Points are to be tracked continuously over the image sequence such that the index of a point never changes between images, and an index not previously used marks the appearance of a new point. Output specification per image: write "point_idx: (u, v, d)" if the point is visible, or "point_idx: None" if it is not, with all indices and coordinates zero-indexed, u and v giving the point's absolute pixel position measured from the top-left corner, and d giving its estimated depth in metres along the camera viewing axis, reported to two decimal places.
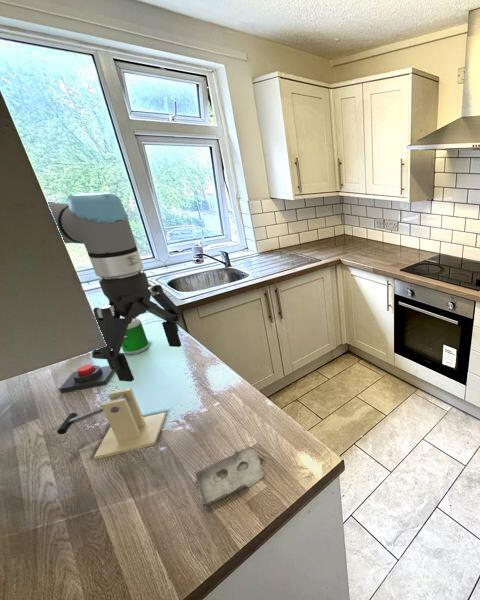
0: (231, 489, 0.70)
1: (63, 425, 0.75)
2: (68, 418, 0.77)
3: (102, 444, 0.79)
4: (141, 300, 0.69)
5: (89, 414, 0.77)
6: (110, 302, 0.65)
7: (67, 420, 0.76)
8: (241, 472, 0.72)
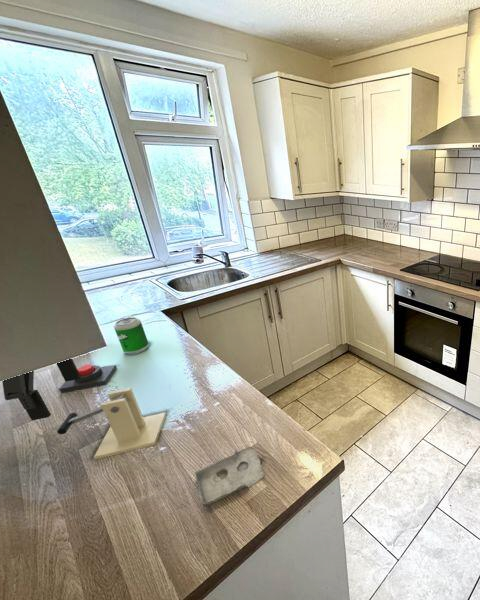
0: (231, 489, 0.70)
1: (63, 425, 0.75)
2: (68, 418, 0.77)
3: (102, 444, 0.79)
4: None
5: (89, 414, 0.77)
6: None
7: (67, 420, 0.76)
8: (241, 472, 0.72)
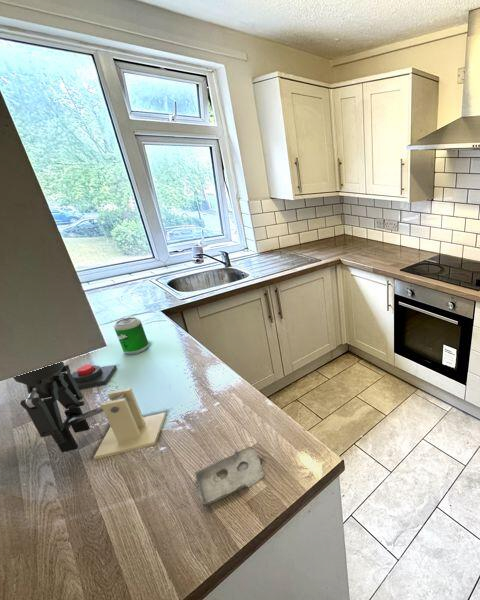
0: (231, 489, 0.70)
1: (63, 425, 0.75)
2: (68, 418, 0.77)
3: (102, 444, 0.79)
4: (56, 377, 0.73)
5: (89, 414, 0.77)
6: (29, 387, 0.67)
7: (67, 420, 0.76)
8: (241, 472, 0.72)
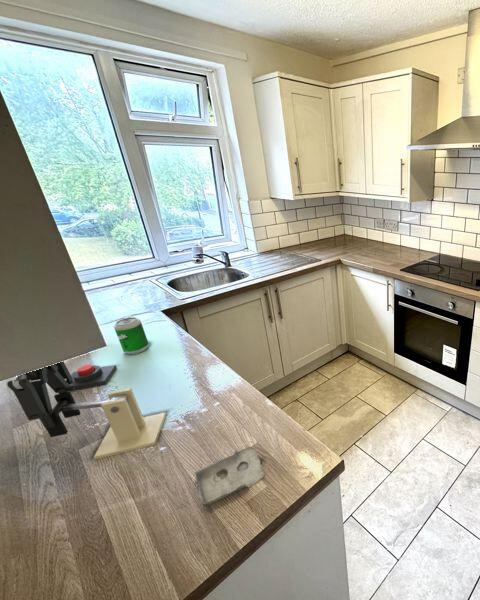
0: (231, 489, 0.70)
1: None
2: (60, 403, 0.75)
3: (102, 444, 0.79)
4: None
5: (85, 406, 0.76)
6: None
7: (59, 405, 0.74)
8: (241, 472, 0.72)
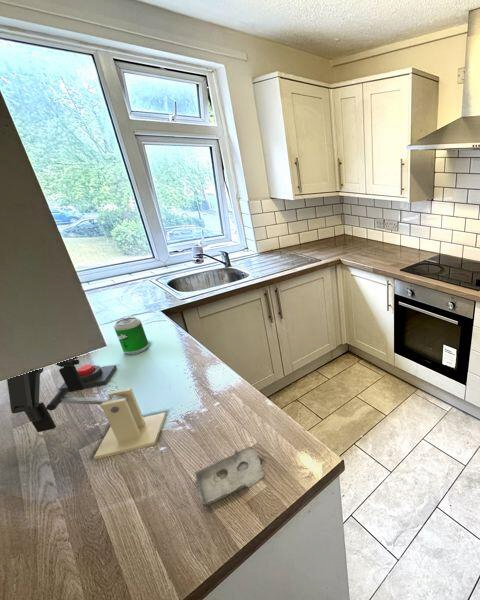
0: (231, 489, 0.70)
1: (55, 401, 0.72)
2: (61, 395, 0.74)
3: (102, 444, 0.79)
4: None
5: (85, 401, 0.75)
6: None
7: (60, 397, 0.74)
8: (241, 472, 0.72)
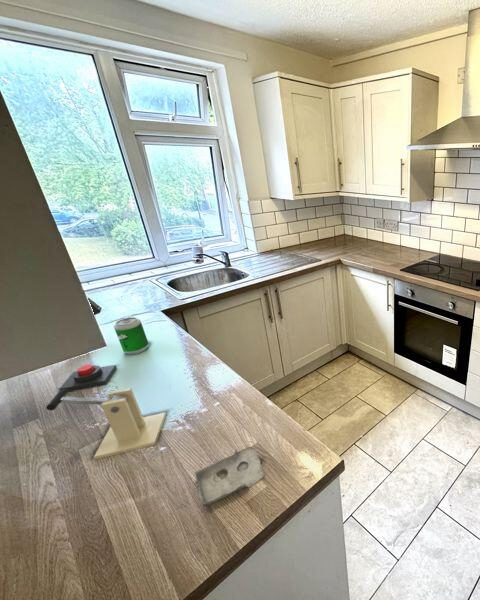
0: (231, 489, 0.70)
1: (55, 401, 0.72)
2: (61, 395, 0.74)
3: (102, 444, 0.79)
4: None
5: (85, 401, 0.75)
6: None
7: (60, 397, 0.74)
8: (241, 472, 0.72)
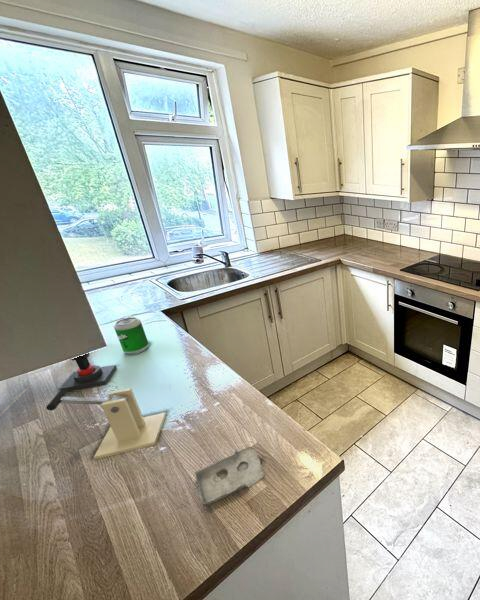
0: (231, 489, 0.70)
1: (55, 401, 0.72)
2: (61, 395, 0.74)
3: (102, 444, 0.79)
4: None
5: (85, 401, 0.75)
6: None
7: (60, 397, 0.74)
8: (241, 472, 0.72)
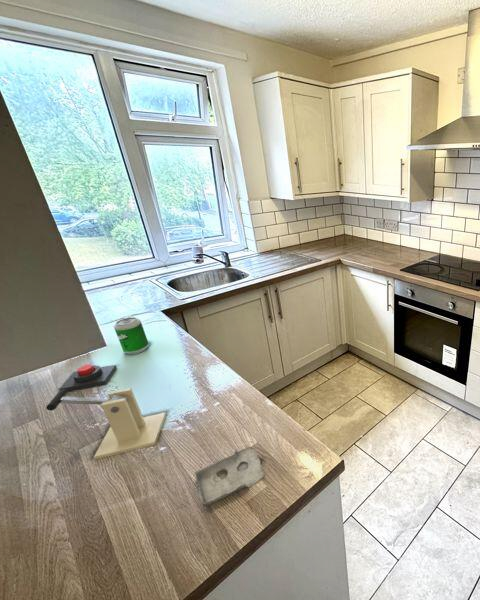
0: (231, 489, 0.70)
1: (55, 401, 0.72)
2: (61, 395, 0.74)
3: (102, 444, 0.79)
4: None
5: (85, 401, 0.75)
6: None
7: (60, 397, 0.74)
8: (241, 472, 0.72)
